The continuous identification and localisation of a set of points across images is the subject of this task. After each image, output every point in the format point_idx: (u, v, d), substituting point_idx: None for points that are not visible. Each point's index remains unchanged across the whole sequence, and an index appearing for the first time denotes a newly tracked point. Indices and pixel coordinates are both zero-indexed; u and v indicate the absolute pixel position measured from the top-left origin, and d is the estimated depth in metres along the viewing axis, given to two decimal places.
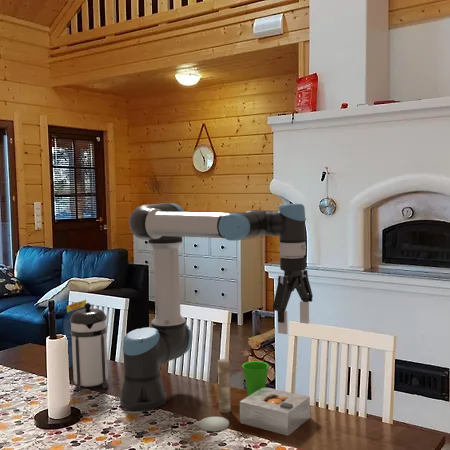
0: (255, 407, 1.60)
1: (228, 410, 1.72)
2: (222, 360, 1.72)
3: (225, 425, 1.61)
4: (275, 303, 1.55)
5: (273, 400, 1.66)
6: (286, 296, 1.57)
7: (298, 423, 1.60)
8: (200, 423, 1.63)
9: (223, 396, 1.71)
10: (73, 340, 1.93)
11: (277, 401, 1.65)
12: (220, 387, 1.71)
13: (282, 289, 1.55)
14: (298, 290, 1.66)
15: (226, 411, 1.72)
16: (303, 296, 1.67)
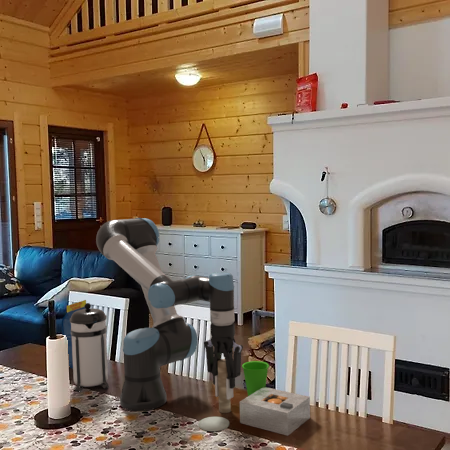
0: (255, 407, 1.60)
1: (228, 410, 1.72)
2: (222, 360, 1.72)
3: (225, 425, 1.61)
4: None
5: (273, 400, 1.66)
6: None
7: (298, 423, 1.60)
8: (200, 423, 1.63)
9: (223, 396, 1.71)
10: (73, 340, 1.93)
11: (277, 401, 1.65)
12: (220, 387, 1.71)
13: None
14: None
15: (226, 411, 1.71)
16: None
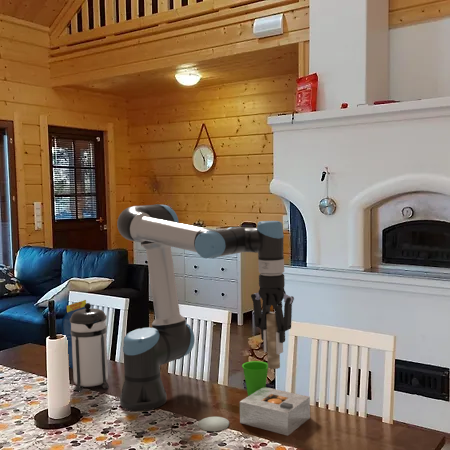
0: (255, 407, 1.60)
1: (278, 366, 1.63)
2: (271, 313, 1.63)
3: (225, 425, 1.61)
4: None
5: (273, 400, 1.66)
6: None
7: (298, 423, 1.60)
8: (200, 423, 1.63)
9: (272, 351, 1.62)
10: (73, 340, 1.93)
11: (277, 401, 1.65)
12: (269, 341, 1.62)
13: None
14: None
15: (276, 367, 1.62)
16: None
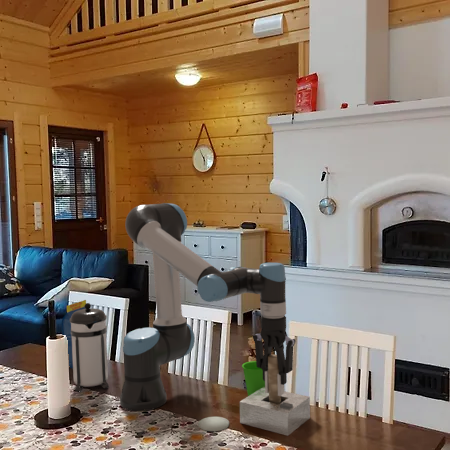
0: (255, 407, 1.60)
1: None
2: (273, 356, 1.64)
3: (225, 425, 1.61)
4: None
5: None
6: None
7: (298, 423, 1.60)
8: (200, 423, 1.63)
9: (273, 394, 1.63)
10: (73, 340, 1.93)
11: None
12: (271, 384, 1.63)
13: None
14: None
15: None
16: None
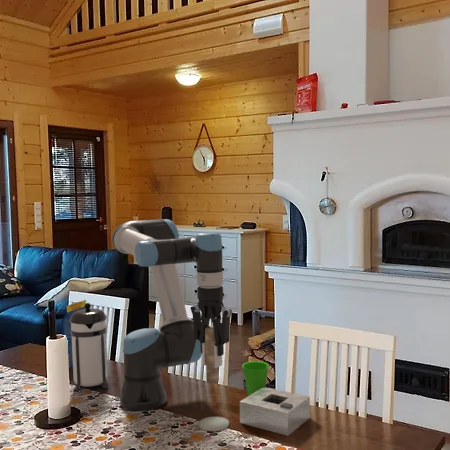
0: (255, 407, 1.60)
1: (216, 380, 1.61)
2: (210, 327, 1.61)
3: (225, 425, 1.61)
4: None
5: None
6: None
7: (298, 423, 1.60)
8: (200, 423, 1.63)
9: (210, 365, 1.60)
10: (73, 340, 1.93)
11: None
12: (207, 356, 1.60)
13: None
14: None
15: (214, 381, 1.60)
16: None
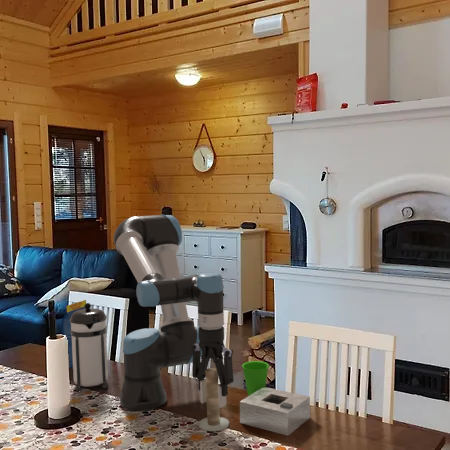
0: (255, 407, 1.60)
1: (217, 422, 1.62)
2: (210, 369, 1.62)
3: (225, 425, 1.61)
4: None
5: None
6: None
7: (298, 423, 1.60)
8: (200, 423, 1.63)
9: (211, 408, 1.61)
10: (73, 340, 1.93)
11: None
12: (208, 398, 1.61)
13: None
14: None
15: (215, 423, 1.61)
16: None
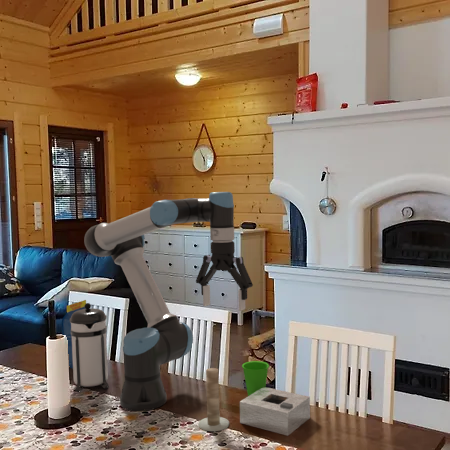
0: (255, 407, 1.60)
1: (217, 422, 1.62)
2: (211, 369, 1.62)
3: (225, 425, 1.61)
4: None
5: None
6: None
7: (298, 423, 1.60)
8: (200, 423, 1.63)
9: (211, 408, 1.61)
10: (73, 340, 1.93)
11: None
12: (209, 398, 1.61)
13: None
14: None
15: (215, 424, 1.61)
16: None
